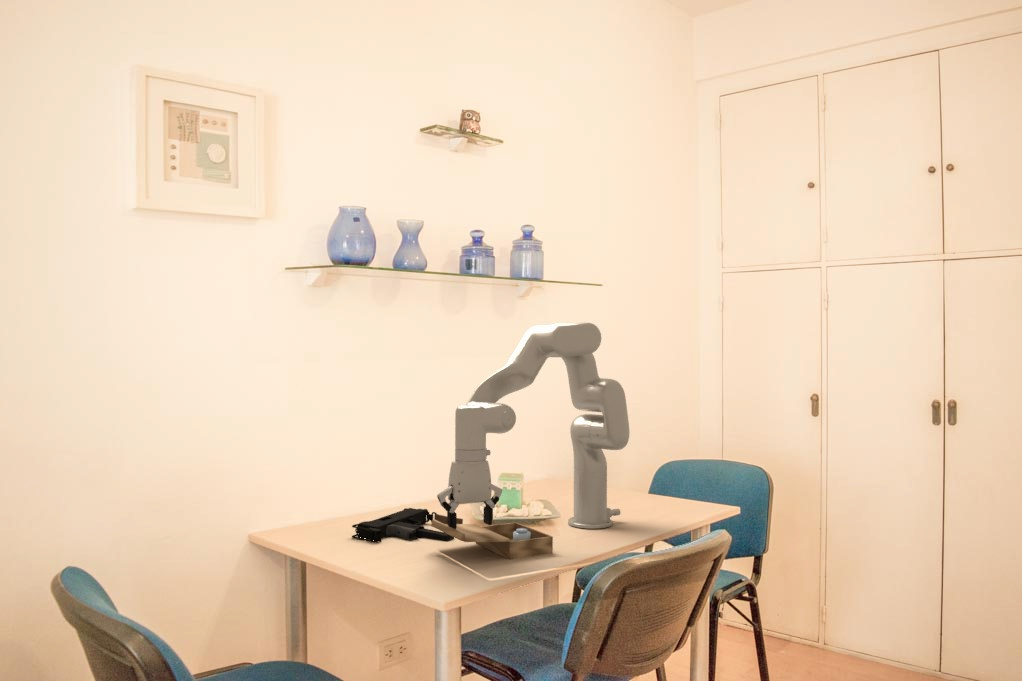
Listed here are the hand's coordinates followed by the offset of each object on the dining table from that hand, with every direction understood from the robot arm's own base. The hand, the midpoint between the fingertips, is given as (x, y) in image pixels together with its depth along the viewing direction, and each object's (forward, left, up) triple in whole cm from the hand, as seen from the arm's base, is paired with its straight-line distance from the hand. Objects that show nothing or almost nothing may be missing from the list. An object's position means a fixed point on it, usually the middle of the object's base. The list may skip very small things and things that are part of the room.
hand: (470, 526), depth 191 cm
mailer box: (-12, 0, -7) cm, 14 cm away
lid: (0, 0, 0) cm, 0 cm away
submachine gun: (+2, -27, -8) cm, 29 cm away
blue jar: (-15, 0, -7) cm, 16 cm away
